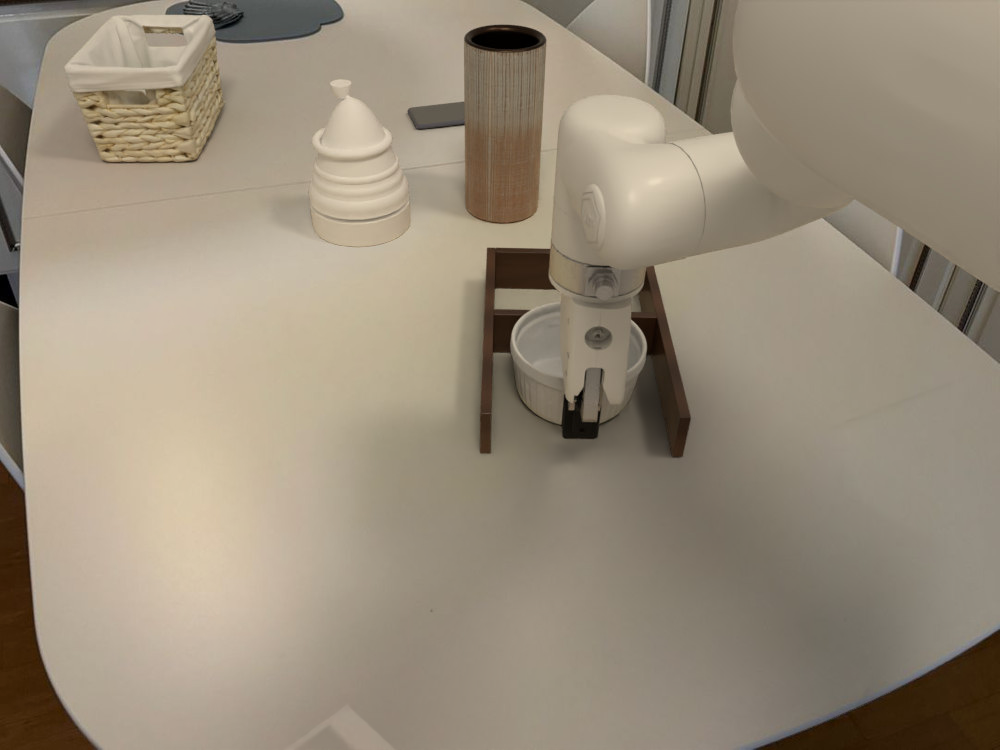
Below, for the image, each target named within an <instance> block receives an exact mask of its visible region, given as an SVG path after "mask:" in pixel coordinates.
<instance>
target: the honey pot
mask: <svg viewBox="0 0 1000 750" xmlns="http://www.w3.org/2000/svg"><path fill="white" fill-rule="evenodd" d="M329 87H330V90H331V93H332V94H333V96H334V97H335V98H336V99H338V100H341V101H340V102H339V103H337V105H336V106H335V108H334V109H333V110H332V112H331V113H330V116H329V118H328V120H327V122H326V124H325V126H323V127H322V128H320V129H319V130H316V132H315V133H314V134H313V135H312V137H311V141H310V144H311V146H312V148H313V150H314V151H315V152H316V153H317V156H316V157H315V159H314V161H313V170H312V173H311V180H310V181H309V185H308V195H309V197H308V198H309V199H308V200H309V207H310V215H311V222H312V228H313V230H314V233H315V234H316V235H317V236H318V237H319V238H320V239H323V240H324V241H325V242H328V243H330V244H335V245H337V246H342V247H352V248H361V247H362V248H364V247H365V248H366V247H372V246H378V245H382V244H386V243H389V242H392V241H394V240H396V239H397V238H399V237H401V236H403V234H405V233H406V232H407V231H408V229H409V227H411V204H410V203H411V202H410V191H409V190H410V189H409V188H410V187H409V186H410V185H409V182H408V181H409V180H408V179H407V178H406V176H405V174H404V171H403V168H402V167H401V165H400V159H399V157H398V155H397V154H396V152H395V150H394V148H393V146H392V144H393V135H392V133H391V131H390V130H389V129H387V128H386V127H384V126H383V125H381V123H380V121H379V119H378V118H377V116H376V115H375V114H374V112H373V111H372V109H370V107H369V106H368V105H367V104H366V103H364V102H363V101H362V100H360V99H358V98H355V97H352V96H351V95H350V94H351V92H352V81H351V80H348V79H344V78H343V79H342V78H341V79H334V80H332V81H330V82H329Z"/></svg>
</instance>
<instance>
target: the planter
mask: <svg viewBox="0 0 1000 750" xmlns="http://www.w3.org/2000/svg"><path fill="white" fill-rule="evenodd" d="M547 41H548V40H547V37H546V36H545V34H543V33H542V31H540V30H537V29H534V28H532V27H528V26H525V25H524V26H523V25H519V24H518V25H516V24H490V25H482V26H479V27H476V28H473V29H471V30H469V31H468V32H467V33H466V34H465V35H464V37H463V87H464V89H463V90H464V93H463V96H464V99H463V100H464V101H463V102H464V109H465V124H464V187H465V188H464V198H465V199H464V200H465V207H466V210H467V211H468V213H470V214H471V215H472V216H473V217H475V218H478V219H480V220H482V221H486V222H491V223H499V224H507V223H516V222H520V221H523V220H526V219H528V218H529V217H532V216H533V215H534V214H535V213H536V212H537V210H538V208H539V207H538V206H539V197H540V196H539V195H540V178H541V177H540V176H541V161H542V159H541V158H542V157H541V156H542V140H543V139H542V138H543V121H544V120H543V119H544V102H545V101H544V99H545V80H546V62H547V61H546V60H547Z"/></svg>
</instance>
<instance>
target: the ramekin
mask: <svg viewBox="0 0 1000 750" xmlns="http://www.w3.org/2000/svg"><path fill="white" fill-rule="evenodd" d="M560 309H561V300H560V301H554V302H549V303H545V304H542V305H538V306H536V307H534V308H532V309H529V310H530V311H529V312H527V313H525V314H524V315H523V316H522V317H521V318H520V319H519V320H518V321H517V322H516V324H515V326H514V328H513V330H512V334H511V342H510V348H511V352H510V353H511V354H510V355H511V357H512V359H513V360H512V361H513V372H514V380H515V385H516V389H517V393H518V395H519V397H520V399H521V400H522V402H523V404H524V405H525V406H526V407H527V408H528V409H530V410H531V412H533V413H534V414H535V415H537V416H539V418H542V419H544V420H545V421H547V422H550V423H553V424H556V425H560V426H562V424H561V423H562V412H563V401H564V394H565V389H564V379H563V371H562V361H561V348H560ZM646 352H647V342H646V339H645V336H644V334H643V332H642V331H641V329H640V328H639V327H638V326H637V324H636V323H634V322H633V321H632V320H631V330H630V343H629V354H628V364H627V374H626V384H625V394H624V400H623V402H622V403H621V404H619V405H616V404H610V403H609V401H608V398H607V396H606V393H605V391H603V396H602V402H601V406H602V407H601V415H600V422H599V424H602V423H604V422H606V421H608V420H611V419H612V418H615V417H616V416H617V415H619V414H620V413H621V412H622V411H623V410H624V409H625V408H626V406H627V405H628V404H629V403H630V400H631V397H632V395H633V392H634V390H635V387H636V384H637V382H638V379H639V375H640V373H641V372H642V370H643V368H644V366H645V363H646V358H647V355H646Z"/></svg>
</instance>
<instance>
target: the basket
mask: <svg viewBox="0 0 1000 750" xmlns="http://www.w3.org/2000/svg"><path fill="white" fill-rule="evenodd" d="M216 33H217V32H216V29H215V24H214V20H213V18H212V17H210V16H209V15H207V14H202V15H199V14H198V15H196V14H131V15H130V14H129V15H127V14H125V15H123V14H120V15H119V14H116V15H112V16H111V17H109V18H108V19H107V20H106V22H105V23H104V24H102V25H101V26H100V27H99V28H98V29H97V30H96V32H94V33H93V35H92V36H91V37H90V38H89V39H88V40H87V42H85V43H84V45H82V46H81V48H80V49H79V50H78V51H77V52H76V53H74V55H73V56H72V57H70V59H69V60H68V62H66V64H65V65H64V67H63V69H64V74H65V76H66V80H67V82H68V83H67V84H68V88H69V89H70V92H71V93H72V94H73V97H74V98H75V100H76V102H77V105H78V107H79V109H80V112H81V114H82V116H83V120H84V122H85V124H86V126H87V130H88V132H89V134H90V136H91V138H92V140H93V142H94V144H95V145H96V146H95V147H96V150H97V152H98V155H99V157H100V159H101V160H102V161H105V162H109V163H120V162H124V163H134V162H140V163H149V162H150V163H153V162H154V163H156V162H157V163H167V162H174V163H181V162H188V161H195V160H197V159H198V158H199V156H200V154H201V153H202V151H203V148H204V147H205V145H206V143H207V140H208V139H209V137H210V136H211V134H212V131H213V130H214V127H215V124H216V122H217V120H218V118H219V116H220V113H221V112H222V110H223V107H224V104H225V103H226V100H224V98H223V95H224V94H223V90H222V80H221V76H220V74H221V73H220V64H219V62H218V49H217V47H216V46H217V45H218V43H217V38H216ZM146 34H166V35H167V34H171V35H174V34H183V37H184V40H185V45H181V46H152V45H149V44H148V39H147V35H146Z"/></svg>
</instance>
